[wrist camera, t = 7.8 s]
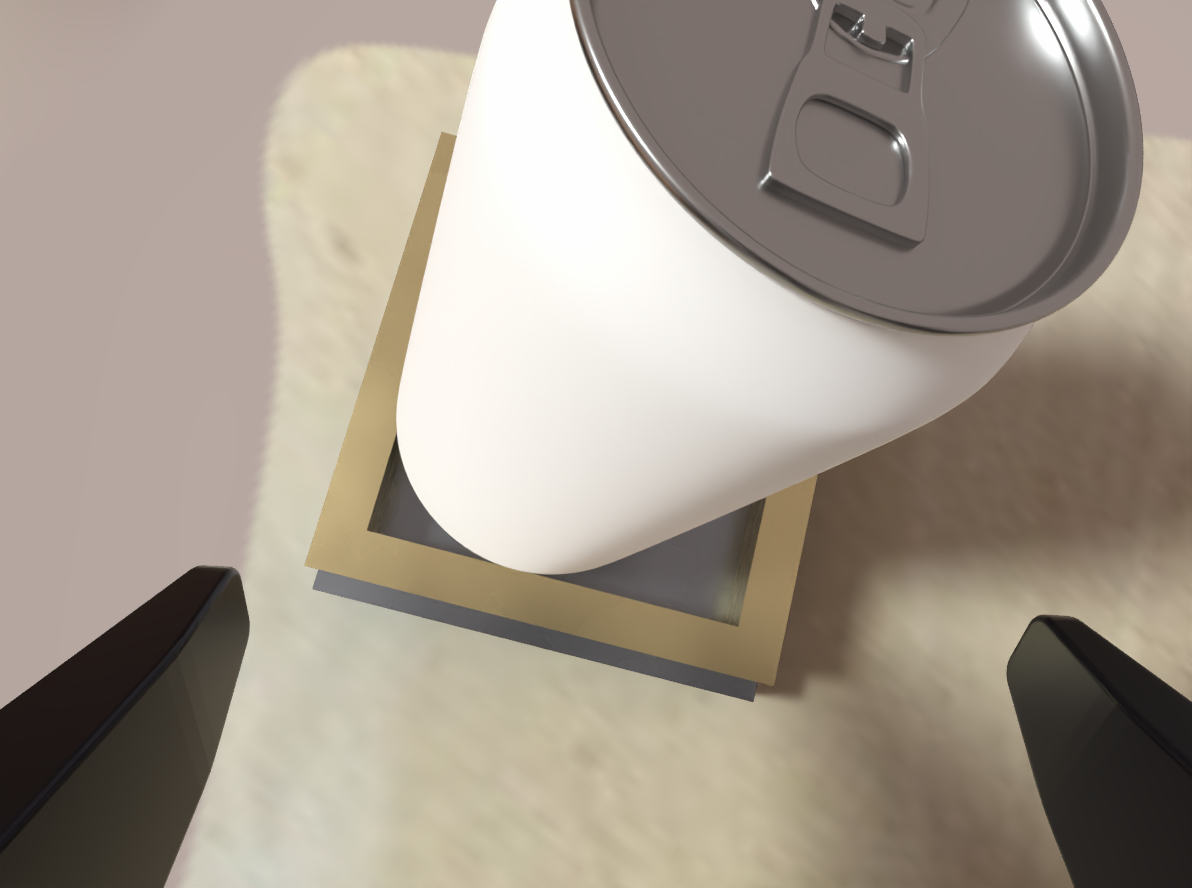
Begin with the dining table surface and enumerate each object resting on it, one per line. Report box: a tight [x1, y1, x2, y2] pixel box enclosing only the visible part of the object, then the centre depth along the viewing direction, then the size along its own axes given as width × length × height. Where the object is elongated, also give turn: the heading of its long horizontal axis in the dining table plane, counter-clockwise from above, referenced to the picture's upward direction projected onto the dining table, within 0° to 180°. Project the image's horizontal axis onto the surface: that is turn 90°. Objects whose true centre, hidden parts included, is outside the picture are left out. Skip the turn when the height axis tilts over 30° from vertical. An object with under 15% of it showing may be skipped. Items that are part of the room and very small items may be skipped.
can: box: [396, 0, 1143, 574], centre depth 12 cm, size 6×6×12 cm
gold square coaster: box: [304, 132, 818, 702], centre depth 19 cm, size 11×10×3 cm
